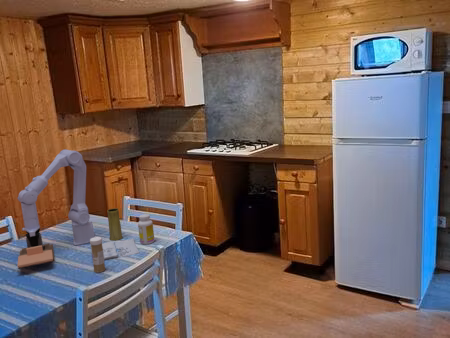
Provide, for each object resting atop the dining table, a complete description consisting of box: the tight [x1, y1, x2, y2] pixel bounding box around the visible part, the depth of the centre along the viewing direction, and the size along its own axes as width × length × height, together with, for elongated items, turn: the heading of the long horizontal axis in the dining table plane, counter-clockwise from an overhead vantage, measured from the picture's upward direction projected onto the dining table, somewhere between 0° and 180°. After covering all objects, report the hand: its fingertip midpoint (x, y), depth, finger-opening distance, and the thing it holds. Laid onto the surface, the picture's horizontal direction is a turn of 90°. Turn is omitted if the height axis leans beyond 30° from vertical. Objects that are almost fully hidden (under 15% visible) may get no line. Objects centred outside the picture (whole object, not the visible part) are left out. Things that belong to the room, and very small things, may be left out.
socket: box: [18, 243, 55, 269], centre depth 186 cm, size 14×20×3 cm
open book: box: [90, 238, 140, 261], centre depth 188 cm, size 19×20×2 cm
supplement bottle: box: [137, 213, 155, 245], centre depth 194 cm, size 7×7×13 cm
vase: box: [106, 207, 124, 242], centre depth 201 cm, size 6×6×14 cm
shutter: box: [16, 245, 54, 269], centre depth 174 cm, size 13×11×4 cm
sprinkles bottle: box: [89, 236, 106, 274], centre depth 167 cm, size 5×5×14 cm
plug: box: [25, 233, 44, 250], centre depth 185 cm, size 6×4×8 cm, turn 114°
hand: (35, 246), depth 186 cm, fingers closed on plug, 4 cm apart
